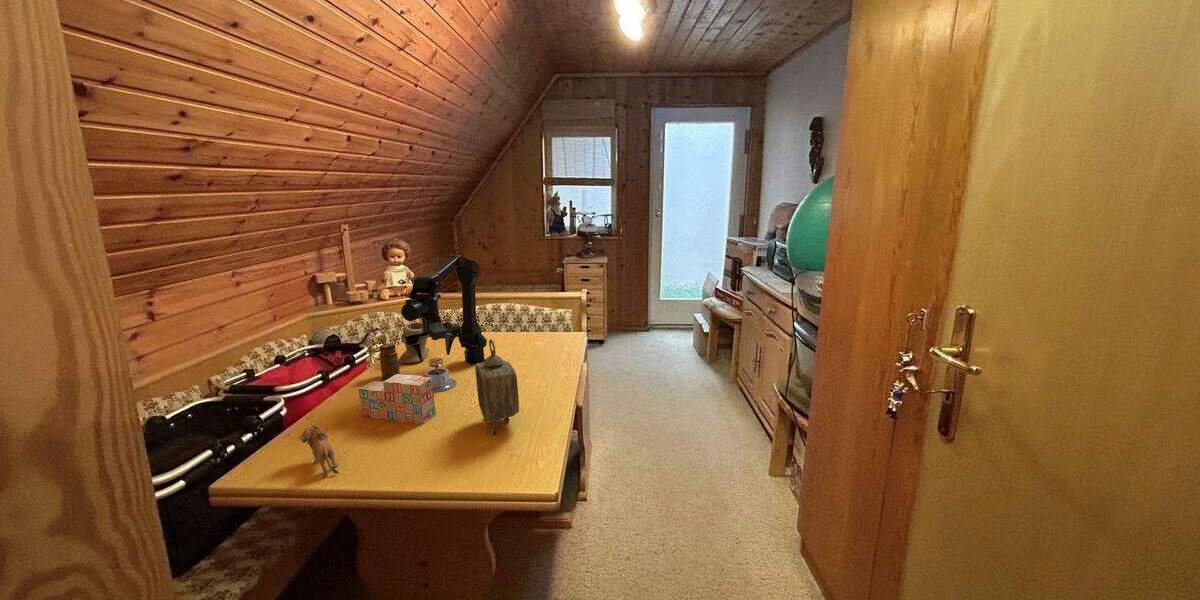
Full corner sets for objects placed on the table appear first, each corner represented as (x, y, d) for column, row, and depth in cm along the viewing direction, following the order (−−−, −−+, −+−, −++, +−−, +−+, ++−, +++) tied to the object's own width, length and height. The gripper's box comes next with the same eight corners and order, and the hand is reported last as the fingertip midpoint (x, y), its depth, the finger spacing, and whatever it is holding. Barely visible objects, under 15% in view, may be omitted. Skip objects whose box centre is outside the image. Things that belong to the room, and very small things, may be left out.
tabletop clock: (479, 416, 140) (472, 335, 135) (510, 410, 144) (503, 331, 138) (488, 439, 127) (480, 350, 122) (521, 431, 131) (515, 345, 125)
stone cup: (427, 364, 186) (422, 327, 182) (395, 365, 185) (390, 328, 182) (437, 351, 200) (433, 317, 197) (408, 353, 200) (404, 318, 196)
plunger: (442, 378, 167) (439, 356, 166) (447, 382, 164) (445, 360, 162) (428, 382, 164) (426, 359, 163) (433, 386, 161) (431, 363, 159)
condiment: (398, 371, 179) (394, 341, 176) (405, 377, 173) (401, 346, 170) (377, 376, 175) (373, 345, 172) (384, 383, 168) (379, 351, 165)
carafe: (444, 378, 169) (443, 366, 168) (453, 384, 164) (451, 372, 163) (415, 386, 163) (414, 373, 162) (423, 393, 157) (421, 380, 156)
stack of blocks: (362, 417, 142) (356, 379, 140) (377, 408, 148) (371, 371, 146) (423, 424, 137) (418, 384, 134) (436, 415, 143) (432, 376, 140)
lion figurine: (301, 460, 120) (294, 428, 118) (323, 451, 124) (317, 419, 122) (327, 480, 111) (320, 445, 109) (350, 469, 115) (344, 436, 113)
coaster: (448, 376, 173) (448, 375, 172) (462, 385, 163) (461, 384, 163) (415, 385, 165) (415, 384, 165) (427, 395, 156) (427, 394, 156)
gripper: (408, 323, 147) (414, 371, 150) (466, 312, 158) (470, 357, 161) (398, 316, 155) (403, 362, 159) (453, 307, 166) (457, 349, 170)
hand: (434, 357), depth 162 cm, fingers open, 9 cm apart
